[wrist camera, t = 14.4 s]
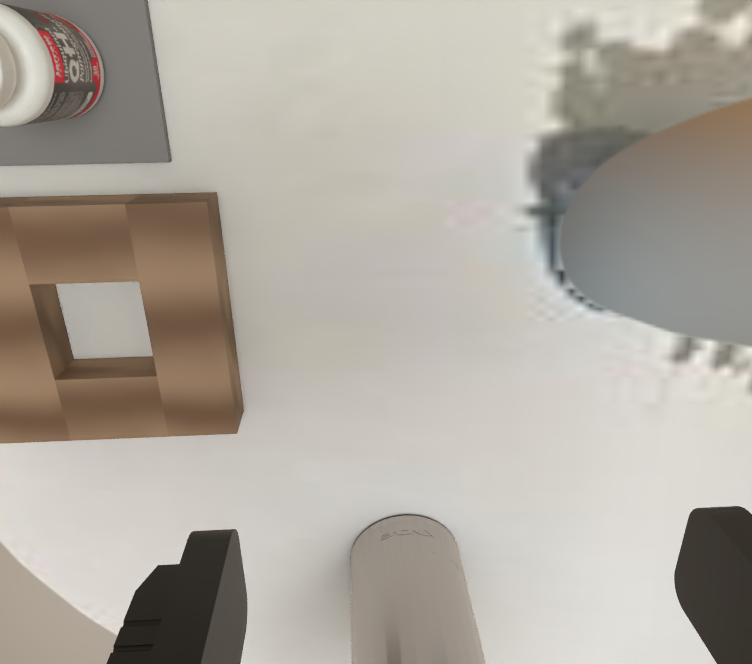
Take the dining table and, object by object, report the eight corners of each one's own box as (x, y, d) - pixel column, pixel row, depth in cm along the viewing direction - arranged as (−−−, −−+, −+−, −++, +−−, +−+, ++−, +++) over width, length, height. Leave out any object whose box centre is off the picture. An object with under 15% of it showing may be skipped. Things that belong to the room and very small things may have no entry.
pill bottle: (127, 72, 33) (46, 71, 25) (67, 138, 35) (-31, 159, 26) (47, -10, 32) (-72, -44, 23) (-13, 62, 33) (-147, 57, 24)
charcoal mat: (171, 160, 36) (168, 162, 36) (-13, 164, 36) (-18, 166, 35) (139, -51, 32) (136, -53, 31) (-71, -49, 31) (-79, -51, 31)
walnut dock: (243, 410, 44) (236, 433, 41) (22, 419, 43) (0, 443, 40) (216, 192, 37) (206, 202, 34) (-45, 198, 36) (-77, 209, 34)
